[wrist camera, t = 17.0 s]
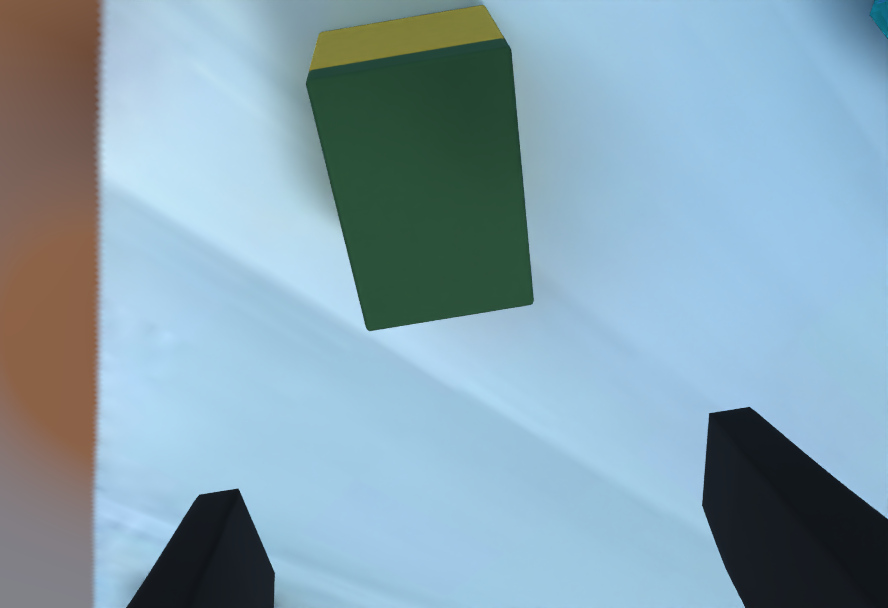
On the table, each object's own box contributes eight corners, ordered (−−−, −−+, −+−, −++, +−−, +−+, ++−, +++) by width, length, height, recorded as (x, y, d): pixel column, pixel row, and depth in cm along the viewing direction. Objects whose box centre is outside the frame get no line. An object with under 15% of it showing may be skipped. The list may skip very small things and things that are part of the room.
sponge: (485, 3, 17) (511, 46, 14) (508, 228, 21) (534, 306, 17) (317, 31, 17) (304, 81, 14) (367, 250, 21) (366, 333, 17)
